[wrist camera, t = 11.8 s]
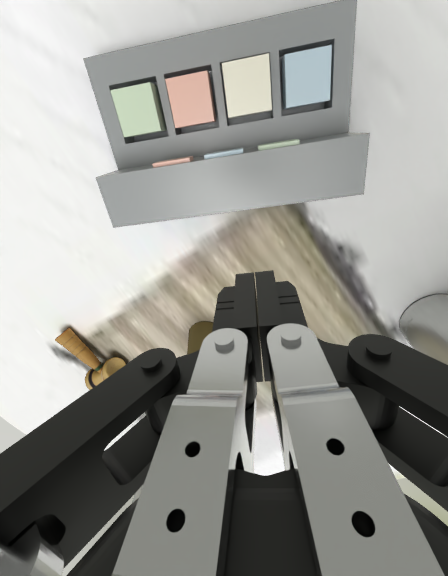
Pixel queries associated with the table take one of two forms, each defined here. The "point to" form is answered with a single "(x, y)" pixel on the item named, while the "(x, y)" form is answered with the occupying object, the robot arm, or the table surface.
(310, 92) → the key blue
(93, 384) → the kendama
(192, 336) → the olive ball-ended cylinder
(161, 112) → the key sage
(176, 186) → the keypad
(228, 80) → the key cream
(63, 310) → the table surface
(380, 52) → the table surface
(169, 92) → the key coral
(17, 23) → the table surface
